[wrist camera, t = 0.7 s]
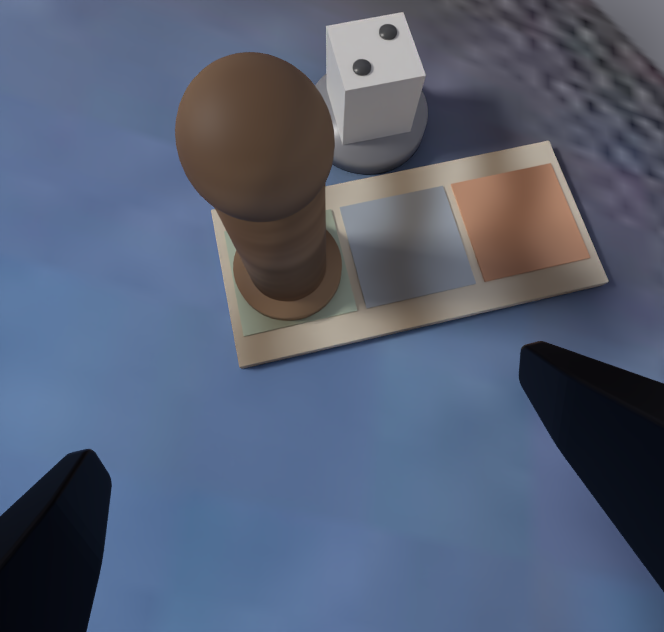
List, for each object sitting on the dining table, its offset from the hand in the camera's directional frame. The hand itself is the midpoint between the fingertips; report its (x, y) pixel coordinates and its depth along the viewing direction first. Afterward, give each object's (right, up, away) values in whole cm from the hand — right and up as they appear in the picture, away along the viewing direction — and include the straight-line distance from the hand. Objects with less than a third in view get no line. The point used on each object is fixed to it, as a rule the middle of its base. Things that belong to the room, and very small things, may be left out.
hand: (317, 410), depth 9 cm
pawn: (-2, +4, +14) cm, 15 cm away
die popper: (+2, +14, +17) cm, 22 cm away
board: (+4, +6, +15) cm, 17 cm away
